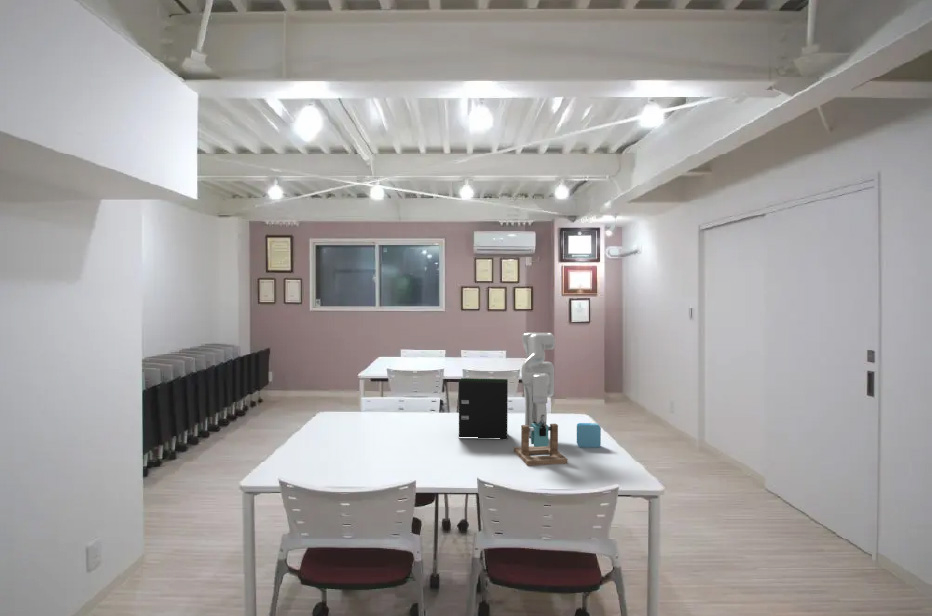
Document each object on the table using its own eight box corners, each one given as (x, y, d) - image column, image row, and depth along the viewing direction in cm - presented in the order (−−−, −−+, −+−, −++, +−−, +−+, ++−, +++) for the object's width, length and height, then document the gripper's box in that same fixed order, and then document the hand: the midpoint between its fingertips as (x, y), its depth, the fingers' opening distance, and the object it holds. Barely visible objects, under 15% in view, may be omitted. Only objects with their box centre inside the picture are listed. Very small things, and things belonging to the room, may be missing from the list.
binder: (507, 433, 313) (507, 378, 313) (507, 440, 298) (507, 383, 298) (461, 432, 316) (461, 378, 315) (458, 439, 301) (458, 382, 300)
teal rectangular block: (531, 443, 270) (531, 423, 269) (544, 442, 271) (544, 422, 270) (534, 446, 264) (534, 426, 263) (548, 446, 265) (548, 425, 265)
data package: (599, 445, 289) (599, 423, 288) (600, 447, 284) (600, 425, 284) (576, 444, 289) (576, 422, 289) (577, 447, 285) (578, 424, 285)
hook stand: (513, 451, 277) (513, 420, 277) (550, 449, 281) (550, 418, 280) (527, 465, 254) (527, 431, 253) (567, 463, 257) (567, 430, 257)
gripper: (527, 396, 275) (527, 429, 275) (538, 403, 258) (537, 438, 258) (541, 395, 276) (541, 428, 276) (552, 402, 259) (552, 437, 259)
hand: (539, 433), depth 267 cm, fingers open, 9 cm apart
